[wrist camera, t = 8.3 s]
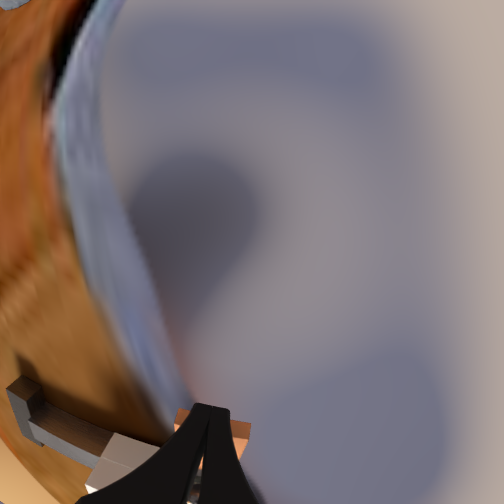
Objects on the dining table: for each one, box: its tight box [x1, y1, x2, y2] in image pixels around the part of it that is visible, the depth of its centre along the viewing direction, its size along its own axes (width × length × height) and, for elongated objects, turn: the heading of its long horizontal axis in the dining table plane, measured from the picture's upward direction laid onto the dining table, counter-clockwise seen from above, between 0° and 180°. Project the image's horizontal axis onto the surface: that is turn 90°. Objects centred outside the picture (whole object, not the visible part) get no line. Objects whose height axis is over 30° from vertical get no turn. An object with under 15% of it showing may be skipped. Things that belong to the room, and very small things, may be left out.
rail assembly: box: [6, 375, 201, 504], centre depth 16 cm, size 18×8×6 cm, turn 79°
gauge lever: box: [174, 408, 251, 476], centre depth 12 cm, size 3×8×1 cm, turn 169°
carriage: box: [85, 433, 160, 494], centre depth 15 cm, size 4×4×6 cm
